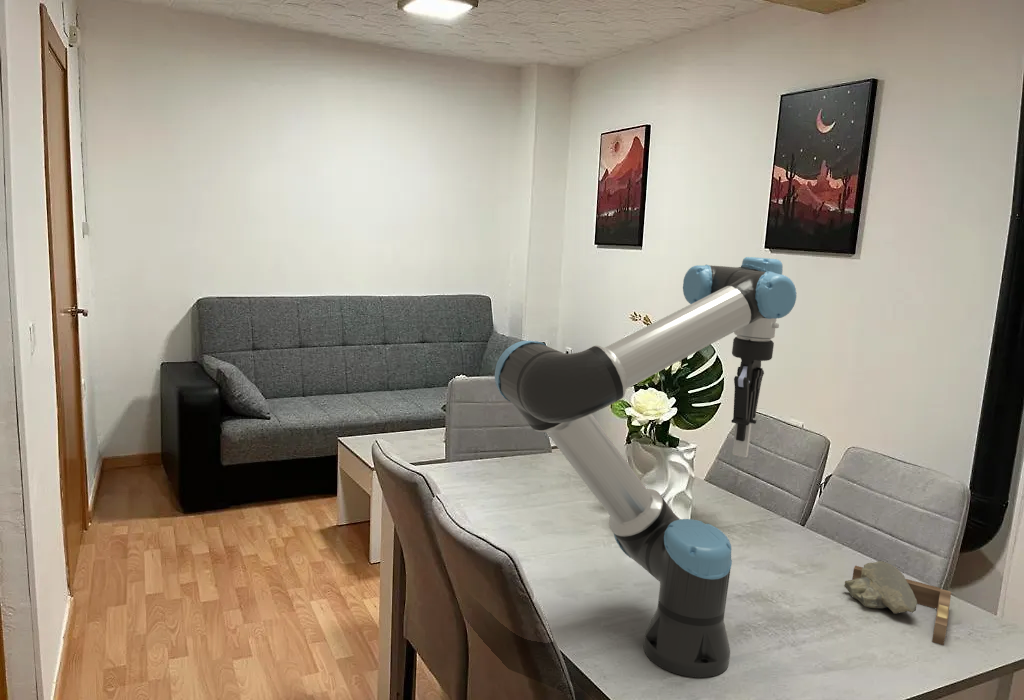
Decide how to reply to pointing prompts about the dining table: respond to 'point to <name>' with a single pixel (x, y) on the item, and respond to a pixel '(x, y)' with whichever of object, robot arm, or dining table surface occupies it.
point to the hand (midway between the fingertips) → (739, 455)
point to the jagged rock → (882, 588)
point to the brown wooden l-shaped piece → (928, 603)
